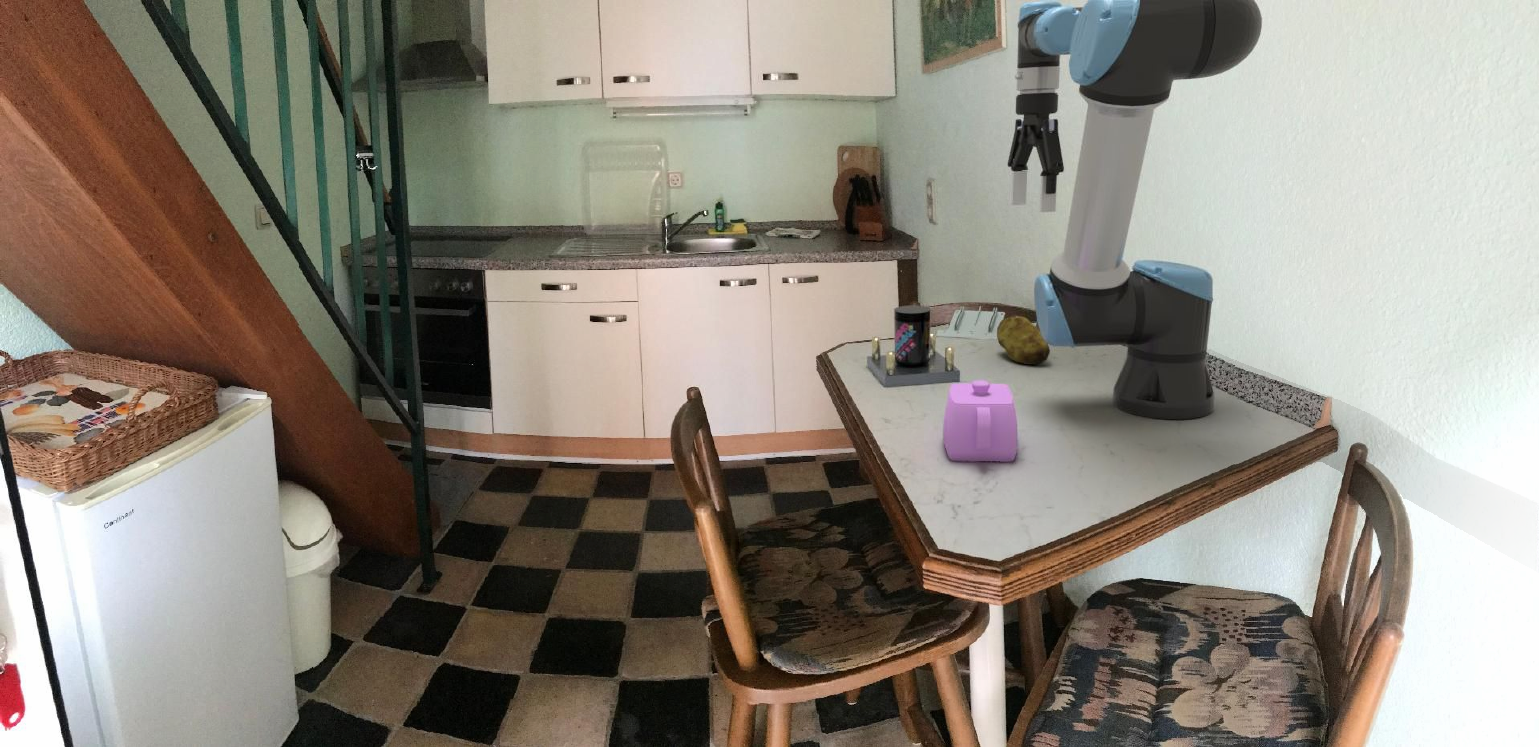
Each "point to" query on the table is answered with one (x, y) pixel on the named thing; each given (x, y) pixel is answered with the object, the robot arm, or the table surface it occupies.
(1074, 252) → the robot arm
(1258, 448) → the table surface
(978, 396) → the teapot
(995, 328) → the metal bracket
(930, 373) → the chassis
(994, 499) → the table surface
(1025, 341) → the potato
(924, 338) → the supplement container
